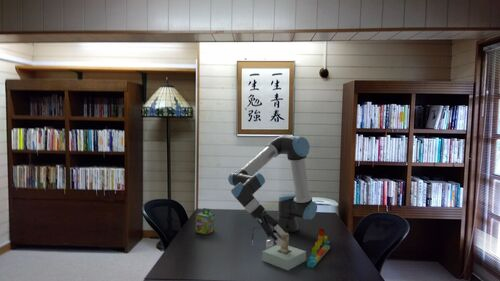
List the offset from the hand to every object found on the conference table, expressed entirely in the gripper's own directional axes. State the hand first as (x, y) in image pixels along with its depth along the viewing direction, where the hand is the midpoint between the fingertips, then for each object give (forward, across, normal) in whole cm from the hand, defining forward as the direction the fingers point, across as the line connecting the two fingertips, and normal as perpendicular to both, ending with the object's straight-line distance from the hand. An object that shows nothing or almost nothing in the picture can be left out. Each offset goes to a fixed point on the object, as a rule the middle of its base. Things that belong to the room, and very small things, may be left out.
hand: (282, 239), depth 172 cm
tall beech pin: (+8, 0, -7) cm, 11 cm away
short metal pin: (+2, -14, -14) cm, 20 cm away
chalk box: (-29, -32, -45) cm, 62 cm away
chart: (+22, -10, +5) cm, 25 cm away
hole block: (+9, 0, -7) cm, 11 cm away
